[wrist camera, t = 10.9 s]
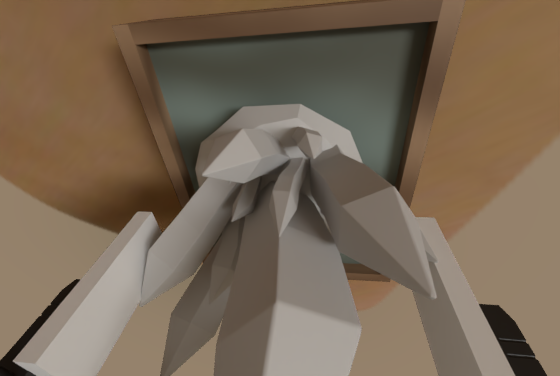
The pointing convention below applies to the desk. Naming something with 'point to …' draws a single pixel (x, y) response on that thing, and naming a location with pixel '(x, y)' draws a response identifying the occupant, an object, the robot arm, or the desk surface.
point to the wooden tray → (298, 79)
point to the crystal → (281, 246)
